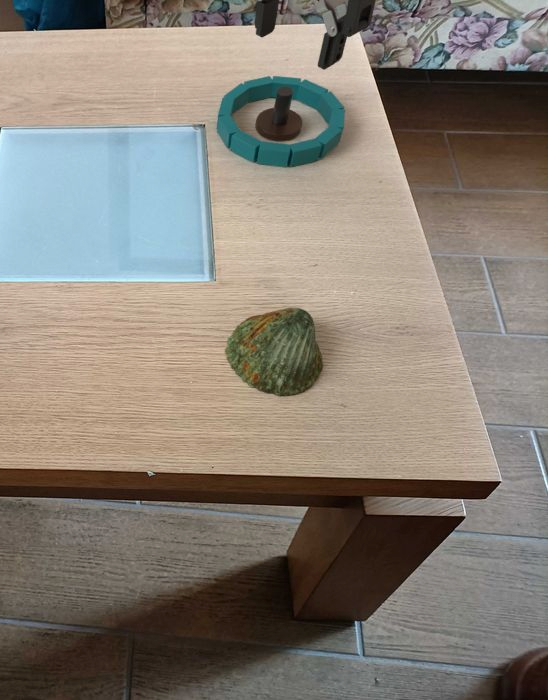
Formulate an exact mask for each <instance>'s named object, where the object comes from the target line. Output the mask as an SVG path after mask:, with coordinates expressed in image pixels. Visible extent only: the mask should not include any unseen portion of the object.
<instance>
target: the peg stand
mask: <svg viewBox="0 0 548 700" xmlns="http://www.w3.org/2000/svg"><path fill="white" fill-rule="evenodd" d="M292 96H293V90H292V89H291V88H289V87H280V88H279V89H278V90H277V95H276V98H275V101H274V106H273V107H270V108H267V109H264V110H262V111H261V112H260V113H259V114H258V115H257V117H256V121H255V130H256V132H257V134H258V135H260V137H262V138H264V139H266V140H269V141H272V142H273V141H274V142H286V141H290V140H293V139H295V138H296V137H298V136H299V135H300V133H301V131H302V128H303V117H301V115H300V114H299V113H297V112H296V111H294V110H292V109H291V105H292V101H293V100H292Z"/></svg>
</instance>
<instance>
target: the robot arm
mask: <svg viewBox="0 0 548 700" xmlns="http://www.w3.org/2000/svg"><path fill="white" fill-rule="evenodd" d="M312 1H313V5H314V8H315V12H316V13H317V14H319V15H321V16H322V20H323V23H324V26H325V31H326V32H324V34H323V37H322V38H323V39H322V43H321V47H320V52H319V56H318V60H317V67H318V68H320V69H322V70H324V71H325V70H327V69H328V68H330V67H332V66H333V65H335V64H336V63H338V62H340V61H341V60H342V58H343V55H344V50H345V47H346V43H347V39H348V38H351V37H353V36H355V35H356V34H359V33H360V32H361V31H364V30H365V29H367V28H369V27H370V25H371V23H372V19H373V15H374V11H375V5H376V1H377V0H312ZM279 4H280V0H256V8H255V16H254V17H255V18H254V23H253V24H254V28H255V35H256V36H258V37H260V38H265V37H266V36H268V35H270V34H272V33H273V32H274V30H275V29H276V22H277V17H278V10H279Z"/></svg>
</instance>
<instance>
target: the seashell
mask: <svg viewBox="0 0 548 700" xmlns="http://www.w3.org/2000/svg"><path fill="white" fill-rule="evenodd" d="M226 343H227V346H226V347H225V349H224V351H225V354H226V359H227V361H228V363H229V366H230V368H231V369H232V370H234V371H235V374H236V375H237V376H238V377H240V378H241V379H242V381H243V382H244V383H247V385H248V386H250V387H251V388H255V389H257V390H258V391H260V392H264V393H265V394H273V395H275V396H279V397H281V396H285V397H287V396H292V395H297V394H300V393H302V392H305V391H306V390H308V389H309V388H311V387H312V386H313V385H314V384H315V382H316V381H317V380H318V378H319V377H320V375H321V373H322V371H323V368H324V362H323V354H322V352H321V350H320V347H319V343H318V342H317V341H316V328H315V322H314V318H313V316H312V315H311V314H310V313H309V312H308V311H307V310H305V309H303V308H300V307H286V308H281V309H280V308H279V309H277V310H273V311H270V312H267V313H263V314H257V315H251V316H248V317H247V318H245V320H244V321H242V322H240V323H239V324H237V326H236V328H235V329H234V330H233V331H232V333H231V335H230V336H229V337H228V338H227V342H226Z"/></svg>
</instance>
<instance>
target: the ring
mask: <svg viewBox="0 0 548 700" xmlns="http://www.w3.org/2000/svg"><path fill="white" fill-rule="evenodd" d="M280 87H289V88H291V89H292V90H293V96H292V101H297V102H299V103H301V104H303V105H306V106H308V107H310V108H312V109H314V110H316V111H317V112H318V113H319V114H320V116H321V117H322V119H323V120H324V121H325V122H326V124H327V127H326V129H324V130H323V131H322V132H321V133H319V135H317V136H316V137H314V138H312V139H311V138H310V139H306V140H303V141H298V142H294V143H281V142H273V141H272V142H271V141H264V140H261V139H259V138H256V137H255V136H252V135H250V134H248V133H246V132H245V131H242V130H241V129H240V127H239V126H238V124H237V123H236V121H235V120H234V118H233V117H232V116H233V114H235V113H236V112H237V111H239V110H240V109H241V108H243V107H244V106H245V105H246V104H248V103H253V102H258V101H261V100H265V99H266V100H267V99H270V98H274V99H276V95H277V90H278V89H279V88H280ZM345 117H346V109H345V106H344V105H343V104H342V102H341V101H340V100H339V99H338V98H337V97H336V95H335V93H333V92H332V90H331V91H329V89H328V88H326V87H324V86H321V85H320V84H317V83H314V82H312V81H310V80H308V79H303V80H302V78H301V77H292V76H290V77H289V76H279V75H272V77H271V75H267V76H264V77H259V78H258V77H257V78H253V79H248V80H245V81H243V82H240V83H239V84H238V85H236V86H235V87H234V88H232V89H230V91H228V92H226V94H224V95H223V97H221V101H220V106H219V109H218V113H217V121H216V133H217V134H218V136H219V137H220V139H221V141H222V142H223V144H224V145H225V147H226V149H229V151H230V152H232V153H234V154H236V155H238V156H239V157H241V158H243V159H245V160H247V161H248V162H250V163H255V162H256V164H257V165H264V166H272V167H280V168H287V167H288V166H289V167H290V168H293V167H297V166H302V165H306V164H309V163H314V162H318V161H319V160H323V158H325V157H326V156H328V154H329V153H330V152H331V151H333V150H334V149H335V148H336V147H338V145H339V144H340V141H341V138H342V135H343V131H344V129H345V128H344V127H345Z"/></svg>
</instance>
